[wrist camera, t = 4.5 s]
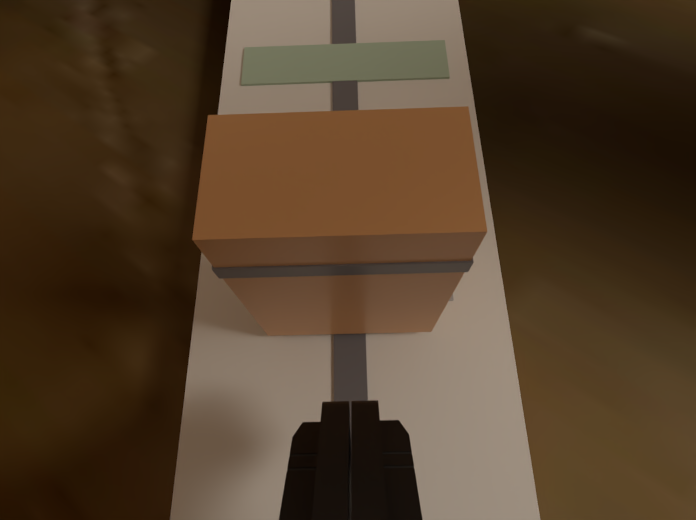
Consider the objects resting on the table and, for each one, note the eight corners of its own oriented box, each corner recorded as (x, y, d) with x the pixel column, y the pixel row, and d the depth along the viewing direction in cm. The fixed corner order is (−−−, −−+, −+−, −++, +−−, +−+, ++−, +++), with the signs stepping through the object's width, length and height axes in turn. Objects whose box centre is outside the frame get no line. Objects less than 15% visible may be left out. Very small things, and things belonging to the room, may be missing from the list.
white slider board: (526, 554, 16) (549, 568, 14) (186, 558, 16) (162, 573, 14) (442, -26, 28) (448, -63, 26) (245, -18, 28) (236, -54, 26)
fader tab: (432, 333, 17) (490, 233, 9) (266, 337, 17) (189, 242, 9) (425, 250, 18) (470, 104, 11) (271, 254, 18) (206, 113, 11)
